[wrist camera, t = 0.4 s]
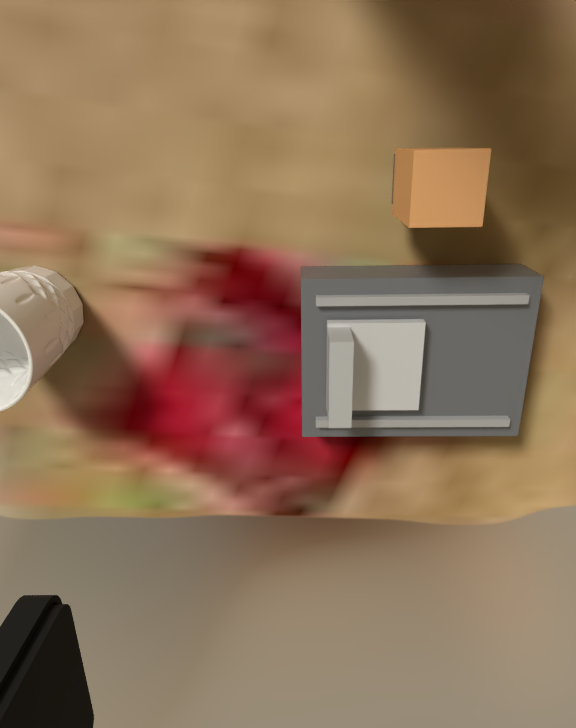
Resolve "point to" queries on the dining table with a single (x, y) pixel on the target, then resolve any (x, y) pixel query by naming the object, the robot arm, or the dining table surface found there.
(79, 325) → the white cup
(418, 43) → the dining table surface
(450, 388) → the grey sliding cover box
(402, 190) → the tan rectangular block
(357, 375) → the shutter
